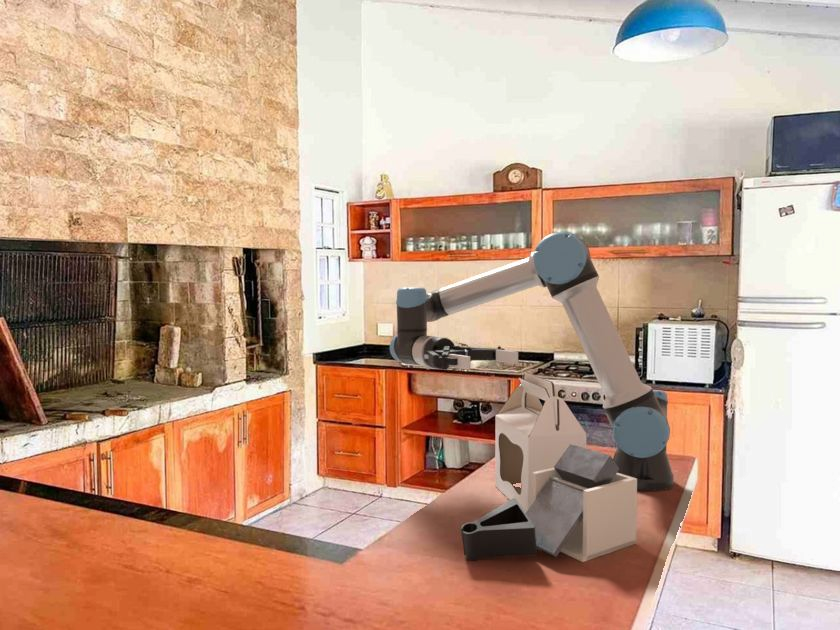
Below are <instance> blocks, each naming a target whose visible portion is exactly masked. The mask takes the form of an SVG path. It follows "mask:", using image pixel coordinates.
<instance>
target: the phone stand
mask: <svg viewBox="0 0 840 630" xmlns="http://www.w3.org/2000/svg"><path fill="white" fill-rule="evenodd" d="M460 531H461V541H462V547H463V553H464V556H465V560H467V561H470V562H471V561H472V562H473V561H478V560H480V559H483V558H501V557H504V558H505V557H522V556H523V557H525V556H536V555H538V551H537V549H538V548H536V537H535V526H534V524H533V523H532V522H531V520H530V519H529V517H528V516H527V514H526V513H525V511H524V510H523V508H522V507H521V506H520V504H519V503H518V501H517V500H516V499H515V498H513V499H511V500H508V501H507V502H505V503H503V504H501V505H499V506H498V507H496V508H495V509H492V510H491V511H489V512H487V513H486V514H485V515H483V516H481V517H479V518H478V519H476V520H474V521H469V522H465V523H463V525H461V527H460Z"/></svg>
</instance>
